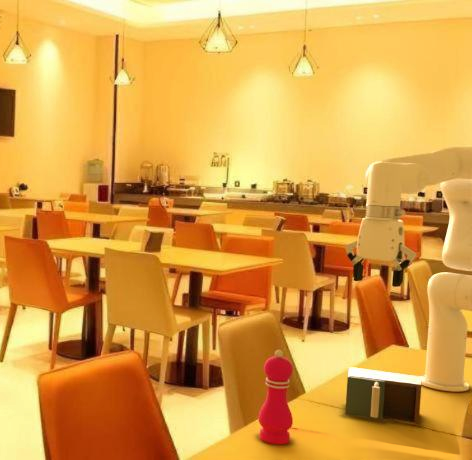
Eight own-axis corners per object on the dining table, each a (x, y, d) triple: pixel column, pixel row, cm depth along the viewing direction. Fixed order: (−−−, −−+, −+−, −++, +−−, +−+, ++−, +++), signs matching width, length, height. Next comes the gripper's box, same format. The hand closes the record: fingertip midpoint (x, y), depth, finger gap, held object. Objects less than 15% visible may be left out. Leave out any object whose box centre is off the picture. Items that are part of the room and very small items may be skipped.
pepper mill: (293, 447, 162) (298, 355, 160) (258, 443, 164) (263, 352, 162) (289, 435, 169) (294, 347, 167) (256, 432, 171) (260, 344, 169)
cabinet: (347, 406, 191) (349, 367, 190) (417, 416, 184) (420, 376, 183) (345, 415, 184) (347, 375, 183) (418, 426, 177) (421, 384, 176)
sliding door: (345, 414, 183) (347, 375, 182) (382, 420, 180) (384, 380, 179) (343, 423, 177) (345, 383, 176) (381, 429, 174) (384, 388, 173)
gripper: (425, 216, 179) (419, 287, 180) (356, 211, 192) (351, 277, 194) (411, 216, 174) (405, 289, 176) (341, 211, 187) (335, 279, 189)
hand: (376, 283), depth 185 cm, fingers open, 9 cm apart
